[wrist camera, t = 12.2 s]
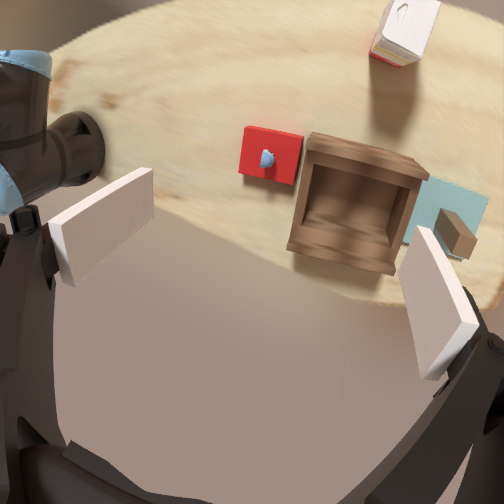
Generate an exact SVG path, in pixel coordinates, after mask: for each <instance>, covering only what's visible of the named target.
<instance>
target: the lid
mask: <svg viewBox="0 0 504 504" xmlns="http://www.w3.org/2000/svg"><path fill="white" fill-rule="evenodd" d="M488 199H489V198H488V197H487V196H484V195H482V194H479V193H477V192H474V191H472V190H469V189H467V188H464V187H462V186H459V185H456V184H454V183H451V182H448V181H445V180H442V179H440V178H437V177H434V176H431V175H430V176H429V179H428V181H425V180H423V181H422V184H421V187H420V191H419V194H418V197H417V200H416V203H415V206H414V209H413V212H412V215H411V218H410V221H409V224H408V227H407V230H406V233H405V235H404V238H403V241H402V242H405V243H409V244H410V241H411V239H412V236H413V234H414V231H415V228H416V225H419V226H422V227H425V228H429V229H431V231H432V233H433V234H434V236H435V238H436V239H437V241H438V243H439V245H440V246H441V248H442V250H443V252H444V253H445V254H448V255H451V256H454V257H458V258H461V259H468V260H469V258H470V256H471V254H472V251H473V249H474V247H475V245H476V242H477V239H476V237H475V233H476V231H477V228H478V226H479V223H480V221H481V218H482V216H483V213H484V210H485V208H486V205H487V202H488Z"/></svg>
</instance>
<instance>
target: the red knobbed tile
mask: <svg viewBox="0 0 504 504" xmlns="http://www.w3.org/2000/svg"><path fill="white" fill-rule="evenodd" d="M303 137H304V136H300V135H296V134H291V133H286V132H281V131H276V130H271V129H266V128H261V127H255V126H247V127H245V128H244V135H243V142H242V149H241V157H240V164H239V172H238V173H241V174H246V175H251V176H256V177H260V178H265V179H269V180H273V181H278V182H282V183H286V184H291V185H293V183H294V181H295V177H296V172H297V167H298V162H299V157H300V152H301V147H302V142H303Z"/></svg>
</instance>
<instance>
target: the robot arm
mask: <svg viewBox="0 0 504 504" xmlns="http://www.w3.org/2000/svg"><path fill="white" fill-rule="evenodd" d="M51 68H52V58H51V56H50V55H49V54H48V53H46V52H42V51H33V50H12V51H10V50H8V51H4V50H3V51H0V216H7V215H9V217H10V221H11V226H12V230H13V235H9V234H7V232H6V228H5V225H4V224H2V223H0V504H212V503H208V502H205V501H202V500H199V499H191V498H182V497H175V496H168V495H161V494H155V493H150V492H146V491H144V490H143V489H141V488H140V487H138V486H137V485H136V484H134V483H133V482H132V481H130V480H129V479H128V478H127V477H125V476H124V475H123V474H122V473H121V472H119V471H118V470H117V469H116V468H115V467H113V466H112V465H111V464H110V463H109V462H108V461H106V460H104V459H102V458H101V457H99V456H97V455H95V454H94V453H92V452H90V451H88V450H87V449H85V448H83V447H82V446H80V445H78V444H77V443H75V442H73V441H72V440H71V441H70V443H69V444H68V446H66V443H65V440H64V438H63V436H62V434H61V431H60V429H59V426H58V421H57V414H56V403H55V390H54V372H53V318H54V300H55V287H56V281H55V277H54V274H56V273H57V272H58V271H60V274H61V278H62V281H63V283H66V284H68V285H70V286H72V287H75V288H76V287H77V286H78V285H79V284H80V283H81V282H82V281H83V280H84V279H85V278H86V277H87V276H88V275H89V274H90V273H91V272H93V271H94V269H96V268H97V267H98V266H99V265H100V264H101V263H102V262H103V261H104V260H105V259H107V258H108V257H109V256H110V255H111V254H112V253H113V252H114V251H115V250H117V249H118V248H119V247H120V246H121V245H122V244H123V243H125V241H127V240H128V239H129V238H130V237H131V236H133V235H134V234H135V233H136V232H137V231H138V230H140V229H141V228H142V227H143V226H144V225H145V224H147V223H148V222H149V221H150V220H151V219H153V218H154V200H153V169H149V168H142V167H141V168H139V169H137V170H135V171H133V172H131V173H129V174H127V175H125V176H123V177H122V178H120V179H118V180H116V181H114V182H112V183H111V184H109V185H107V186H105V187H103V188H102V189H100V190H98V191H96V192H95V193H93V194H92V195H90V196H88V197H86V198H84V199H83V200H81V201H80V202H78V203H76V204H75V205H73V206H71V207H70V208H68V209H67V210H65V211H63V212H62V213H60V214H59V215H57V216H56V217H54V218H53V219H51V220H49V221H48V223H46V224H45V225H43V226H41V221H40V216H39V211H38V207H37V206H36V205H28V204H29V203H31V202H33V201H35V200H36V199H38V198H40V197H42V196H43V195H45V194H47V193H49V192H51V191H53V190H55V189H56V188H58V187H69V186H80V185H83V184H86V183H87V182H89V181H91V180H93V179H94V178H95V177H96V176H97V175H98V174H99V172H100V170H101V168H102V165H103V160H104V142H103V137H102V134H101V131H100V129H99V127H98V125H97V123H96V122H95V121H94V120H93V118H92V117H90V116H89V115H88V114H86V113H84V112H72V113H68V114H65V115H63V116H61V117H60V118H58V119H57V120H56V121H54V122H53V123H52V124H50V125H49V126H48V127H47V110H48V98H49V87H50V81H51V80H52V77H51ZM398 276H399V280H400V284H401V287H402V291H403V295H404V299H405V303H406V307H407V311H408V316H409V320H410V325H411V329H412V334H413V338H414V344H415V349H416V354H417V359H418V366H419V371H420V378H421V379H427V380H436V381H437V380H439V379H440V377H441V376H442V375H443V374H444V373H445V371H446V370H447V372H448V377H449V379H448V380H447V381H446V382H445V383H444V385H443V386H442V387H441V388H440V389H439V390H438V392H436V394H435V395H434V396H433V397H434V399H433V401H432V402H431V403H430V404H429V406H428V407H427V409H426V410H425V411H424V412H423V414H422V415H421V416H420V418H419V419H418V420H417V422H416V423H415V424H414V425H413V427H412V428H411V429H410V430H409V431H408V433H407V434H406V435H405V436H404V437H403V439H402V440H401V441H400V442H399V443H398V444H397V446H396V447H395V448H394V449H393V450H392V451H391V452H390V453H389V455H387V456H386V458H385V459H384V460H383V461H382V462H381V463H380V464H379V465H378V466H377V467H376V468H375V469H374V470H373V471H372V472H371V473H370V474H369V475H368V476H367V477H366V478H365V479H364V480H363V481H362V482H361V483H360V484H359V485H358V486H356V487H355V488H354V489H353V490H352V491H351V492H350V493H349V494H348V495H347V496H345V497H344V498H343V499H342V500H341V501H340V502H338V503H337V504H435V503H436V502H437V500H438V499H439V498H440V496H441V495H442V493H443V492H444V490H445V489H446V488H447V486H448V485H449V483H450V482H451V480H452V478H453V477H454V475H455V474H456V472H457V470H458V469H459V467H460V465H461V464H462V462H463V460H464V458H465V457H466V455H467V453H468V451H469V450H470V448H471V446H472V444H473V447H472V450H471V454H470V458H469V461H468V464H467V467H466V471H465V474H464V477H463V480H462V482H461V485H460V488H459V491H458V493H457V496H456V499H455V501H454V504H504V341H503V340H502V339H501V338H500V337H499V336H497V335H495V334H494V333H490V332H488V329H487V327H486V325H485V323H484V320H483V318H482V316H481V313H480V312H479V309H478V307H477V305H476V303H475V301H474V299H473V297H472V295H471V294H470V293H469V291H468V290H467V289H466V288H465V287H464V286H462V285H461V283H460V282H459V280H458V278H457V276H456V274H455V272H454V270H453V268H452V266H451V264H450V262H449V261H448V259H447V257H446V255H445V253H444V252H443V250H442V248H441V246H440V245H439V243H438V241H437V239H436V238H435V236H434V234H433V233H432V231H431V229H429V228H425V227H422V226H419V225H416V228H415V231H414V234H413V236H412V239H411V241H410V244H409V247H408V249H407V252H406V254H405V256H404V259H403V261H402V264H401V266H400V268H399V271H398ZM473 442H474V443H473Z"/></svg>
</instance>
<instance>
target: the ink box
mask: <svg viewBox="0 0 504 504" xmlns="http://www.w3.org/2000/svg"><path fill="white" fill-rule="evenodd" d="M440 6H441V2H440V1H438V0H390V1H389V3H388V4H387V6H386V7H385V9H384V12H383V14H382V17H381V20H380V23H379V26H378V29H377V32H376V35H375V38H374V40H373V43H372V46H371V49H370V51H369V55H370V56H373V57H375V58H378V59H380V60H382V61H384V62H387V63H389V64H391V65H393V66H395V67H397V68H400V67H402V66H405V65H408V64H410V63H413V62H415V61H418V60H421V59H422V56H423V53H424V51H425V48H426V46H427V43H428V41H429V38H430V35H431V33H432V30H433V27H434V24H435V21H436V18H437V16H438V12H439V9H440Z"/></svg>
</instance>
